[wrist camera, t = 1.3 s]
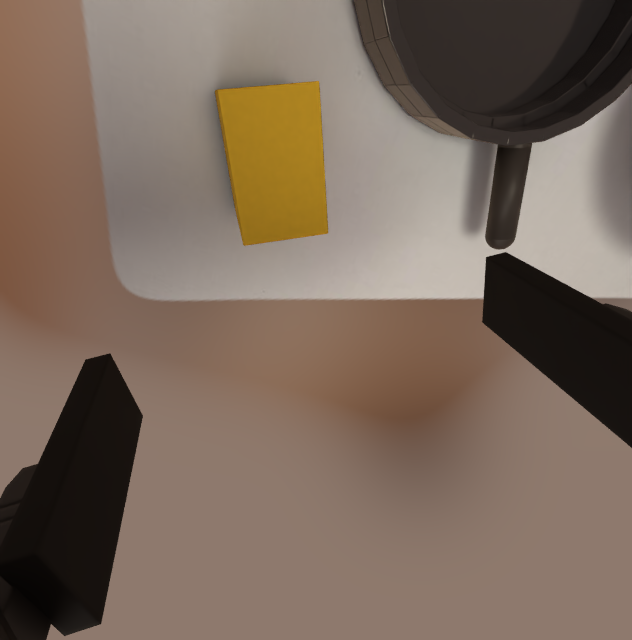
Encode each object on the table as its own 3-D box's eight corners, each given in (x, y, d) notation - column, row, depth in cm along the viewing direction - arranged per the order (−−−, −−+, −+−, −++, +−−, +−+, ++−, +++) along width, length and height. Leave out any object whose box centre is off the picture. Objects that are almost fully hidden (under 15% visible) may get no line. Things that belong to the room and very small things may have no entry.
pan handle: (493, 128, 27) (513, 131, 25) (521, 126, 27) (542, 128, 25) (478, 246, 31) (494, 255, 29) (502, 242, 31) (519, 251, 29)
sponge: (214, 90, 24) (217, 89, 17) (289, 84, 25) (319, 80, 18) (234, 208, 28) (243, 246, 21) (299, 199, 28) (328, 233, 22)
